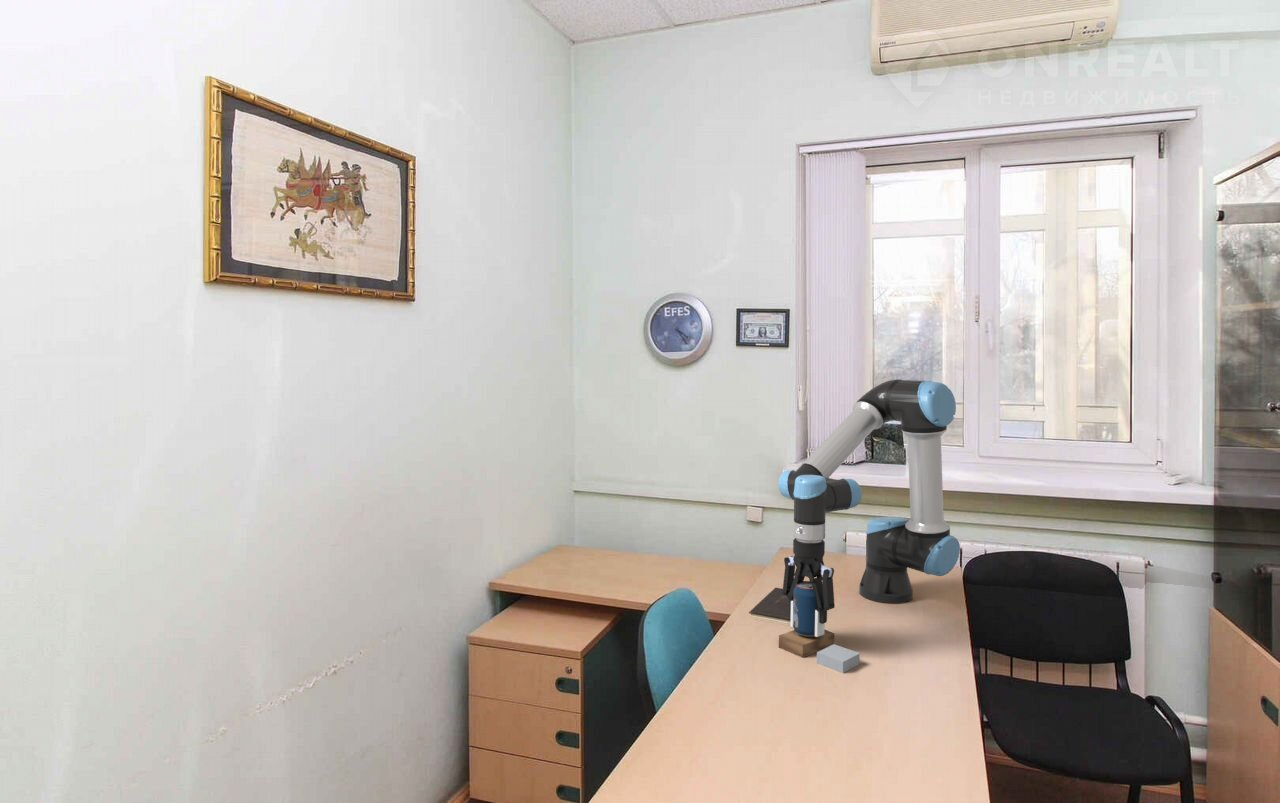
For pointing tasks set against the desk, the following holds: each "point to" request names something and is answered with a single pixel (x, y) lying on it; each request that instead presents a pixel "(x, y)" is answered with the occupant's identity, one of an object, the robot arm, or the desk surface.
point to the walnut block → (805, 643)
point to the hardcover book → (773, 608)
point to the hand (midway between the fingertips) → (807, 630)
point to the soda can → (804, 609)
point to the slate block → (838, 658)
